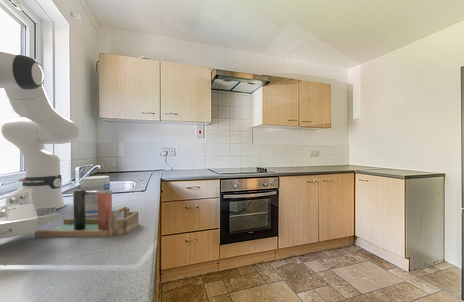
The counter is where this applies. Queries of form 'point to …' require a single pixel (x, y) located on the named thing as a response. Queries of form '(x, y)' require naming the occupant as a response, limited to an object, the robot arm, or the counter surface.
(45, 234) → the tray
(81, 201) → the pillars with crossbar
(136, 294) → the counter surface
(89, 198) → the supplement tub
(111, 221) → the wooden frame
